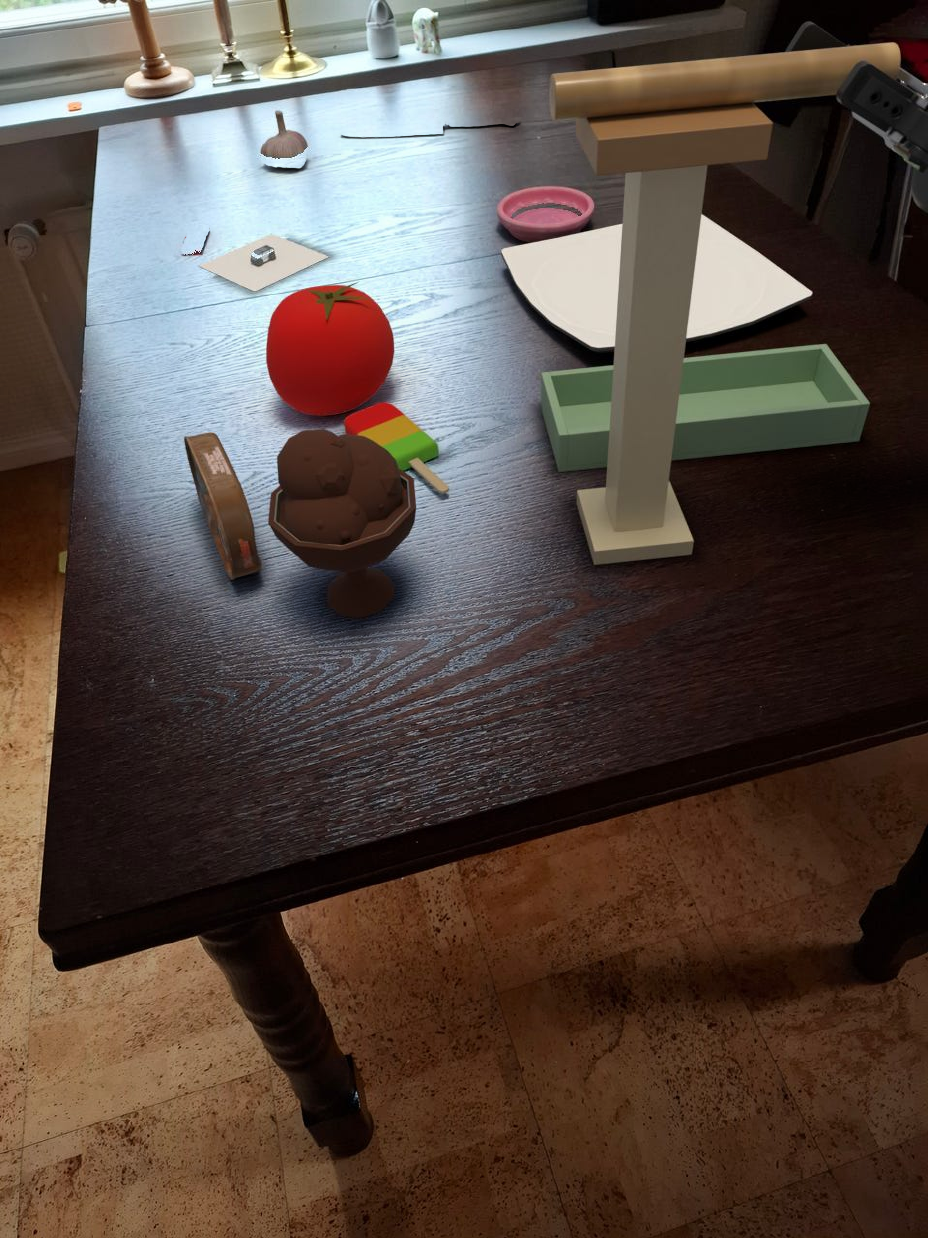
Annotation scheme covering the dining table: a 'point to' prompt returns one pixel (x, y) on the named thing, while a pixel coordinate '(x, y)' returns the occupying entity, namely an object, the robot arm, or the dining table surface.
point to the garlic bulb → (284, 142)
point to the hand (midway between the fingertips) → (820, 57)
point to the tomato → (328, 349)
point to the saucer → (545, 213)
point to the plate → (589, 279)
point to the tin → (223, 504)
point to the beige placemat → (263, 262)
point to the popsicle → (397, 439)
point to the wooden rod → (712, 81)
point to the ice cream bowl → (343, 513)
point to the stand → (655, 309)
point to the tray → (716, 406)
